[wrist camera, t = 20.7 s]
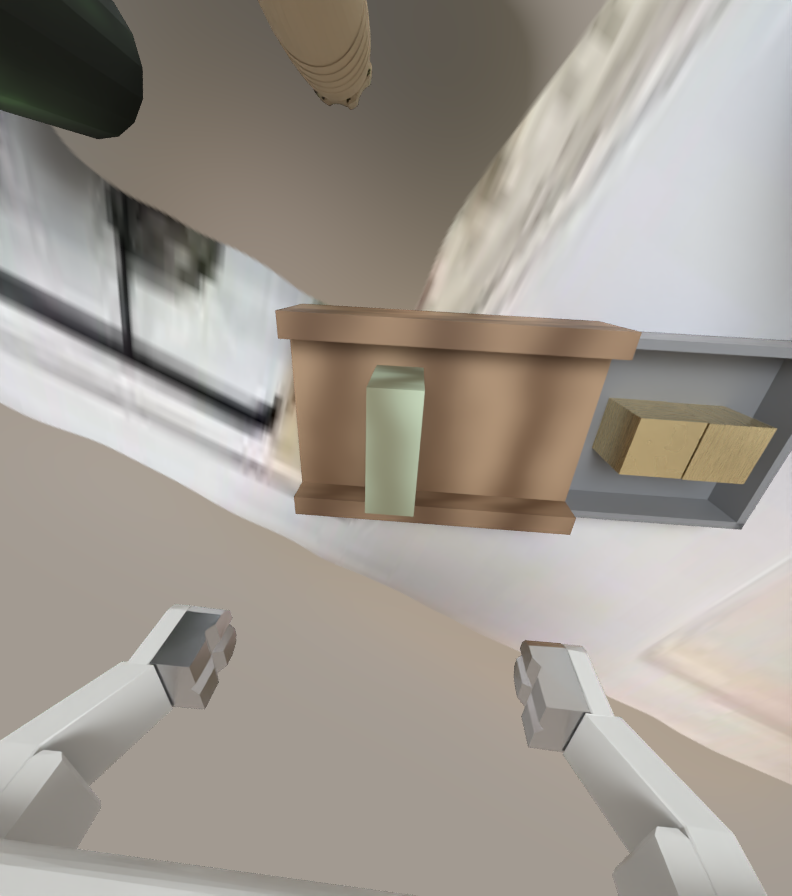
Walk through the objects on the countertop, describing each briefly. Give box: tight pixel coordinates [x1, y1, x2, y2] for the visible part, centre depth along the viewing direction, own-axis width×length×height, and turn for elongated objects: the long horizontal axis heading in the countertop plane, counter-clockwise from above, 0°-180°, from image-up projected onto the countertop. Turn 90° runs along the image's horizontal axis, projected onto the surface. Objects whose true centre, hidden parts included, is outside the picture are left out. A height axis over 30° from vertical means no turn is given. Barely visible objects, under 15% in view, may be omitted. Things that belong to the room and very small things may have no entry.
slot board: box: [275, 304, 642, 535], centre depth 24 cm, size 20×14×5 cm
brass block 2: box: [668, 402, 777, 484], centre depth 24 cm, size 4×4×4 cm
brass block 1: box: [592, 398, 708, 479], centre depth 24 cm, size 4×4×4 cm
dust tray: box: [565, 332, 792, 529], centre depth 24 cm, size 13×13×4 cm
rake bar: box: [365, 365, 425, 517], centre depth 22 cm, size 3×8×5 cm, turn 177°
